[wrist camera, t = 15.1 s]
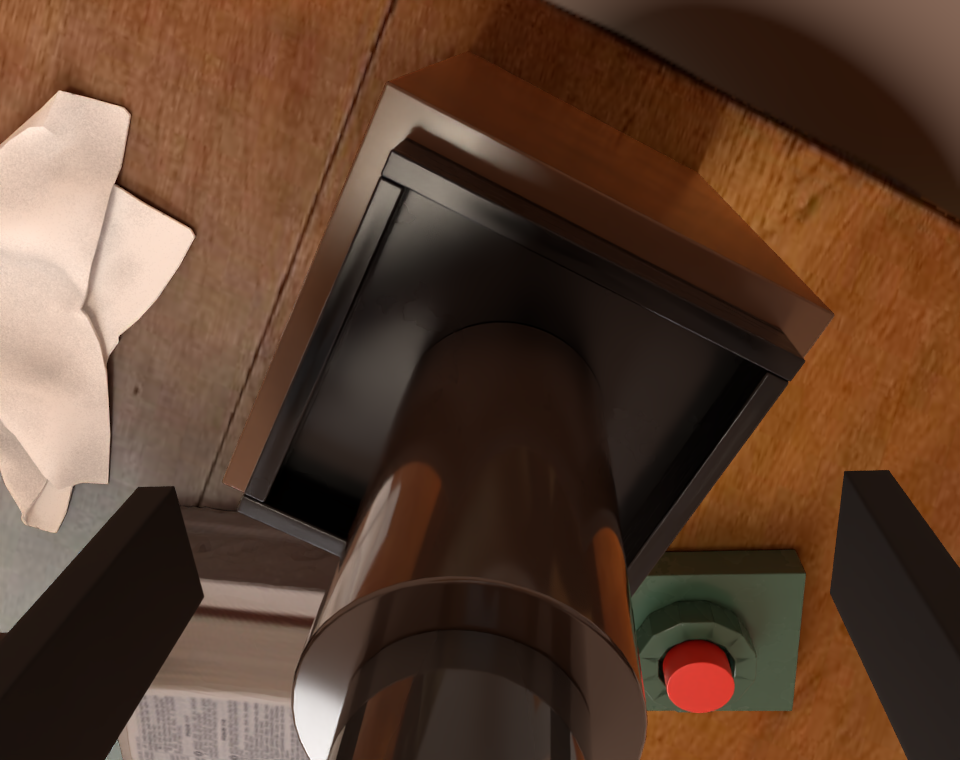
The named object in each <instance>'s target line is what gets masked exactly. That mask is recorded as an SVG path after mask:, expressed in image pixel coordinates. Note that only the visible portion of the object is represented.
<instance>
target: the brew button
mask: <svg viewBox="0 0 960 760" xmlns="http://www.w3.org/2000/svg"><path fill="white" fill-rule="evenodd" d="M663 673H664V678H665V684H666V690H667V694H668V696H669V698H670V700H671V701H672V702H673V703H674V704H675V705H676V706H678V707H679V708H681V709H683V710H686V711H690V712H695V713H704V712H710V711H714V710H716V709H719V708H721V707H722V706H724V705H725V704H726V703H727V702H728V701H729V700H730V699H731V697H732V695H733V693H734V689H735V683H734V679H733V675H732V672H731V668H730V665H729V661H728V658H727V656H726V654H725V652H724V651H723V650H722V649H721V648H720V647H718V646H717V645H715V644H713V643H711V642H708V641H703V640H690V641H685V642H682V643H679V644H677V645H676V646H674V647H673V648H672V649H670V650H669V651H668V653H667V654H666V656H665V658H664V660H663Z"/></svg>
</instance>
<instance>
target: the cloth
mask: <svg viewBox="0 0 960 760" xmlns="http://www.w3.org/2000/svg"><path fill="white" fill-rule="evenodd" d="M130 119H131V114H130V113H129V112H128V111H127V110H126V108H125V107H122V106H118V105H114V104H111V103H107V102H103V101H100V100H96V99H92V98H89V97H85V96H81V95H76V94H72V93H68V92H64V91H60V90H59V91H58V92H57V93H56V94H55V95H54V96H53V97H52V98H51V99H50V100H49V101H48V102H47V103H46V104H45V105H44V106H43V107H42V108H41V109H40V110H38V111H37V112H36V113H35V114H34V115H33V116H32V117H31V118H29V119H28V120H27V121H26V122H25V123H24V124H23V125H22V126H20V127H19V128H18V129H17V130H16V131H15V132H14V133H13V134H11V135H10V136H9V137H8V138H7V139H6V140H5V141H4V142H3V143H2V144H0V470H1V473H2V477H3V480H4V483H5V485H6V487H7V488H8V490H9V492H10V493H11V495H12V497H13V498H14V500H15V502H16V503H17V505H18V507H19V508H20V510H21V512H22V516H21V520H22V521H23V523H24V524H25V525H28V526H31V527H34V528H38V529H41V530H44V531H47V532H54V533H57V531H58V529H59V527H60V525H61V523H62V521H63V519H64V517H65V515H66V513H67V509H68V505H69V501H70V497H71V493H72V489H73V485H76V484H80V483H97V484H108V476H109V455H110V417H109V397H108V377H107V369H106V365H107V361H108V358H109V355H110V354H111V352H112V351H113V350H114V348H115V347H116V345H117V344H118V343H119V339H118V337H119V336H120V335H121V334H122V333H123V332H124V331H126V330H127V329H128V328H129V327H130V326H132V325H133V324H134V323H135V322H136V321H138V320H139V319H140V317H141V316H142V315H143V314H144V313H145V312H146V311H147V310H148V309H149V308H150V306H151V305H152V304H153V303H154V302H155V301H156V300H157V299H158V297H159V296H160V294H161V293H162V291H163V290H164V288H165V287H166V286H167V284H168V283H169V281H170V280H171V278H172V277H173V275H174V274H175V272H176V271H177V269H178V268H179V267H180V265H181V263H182V261H183V259H184V257H185V255H186V253H187V252H188V250H189V248H190V246H191V244H192V242H193V240H194V239H195V237H196V236H195V234H194V232H193V231H192V229H191V228H190V227H188V226H186V225H184V224H182V223H181V222H179V221H177V220H175V219H173V218H171V217H170V216H168V215H166V214H164V213H162V212H161V211H159V210H157V209H155V208H153V207H152V206H150V205H148V204H146V203H144V202H143V201H141V200H140V199H138V198H137V197H135V196H133V195H132V194H130V193H129V192H127V191H126V190H124V189H123V188H121V187H120V186H118V185H116V184H114V183H115V181H116V179H117V177H118V174H119V172H120V170H121V168H122V163H123V158H124V152H125V147H126V141H127V136H128V130H129V125H130Z"/></svg>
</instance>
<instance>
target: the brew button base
mask: <svg viewBox="0 0 960 760" xmlns="http://www.w3.org/2000/svg"><path fill="white" fill-rule="evenodd" d="M805 578H806V573H805V570H804V568H803V566H802V564H801V562H800V560H799V557H798V555H797V553H796V551H795V550H750V551H697V552H664V554H663V555H662V557H661V558H660V559H659V561H658V562H657V563H656V565H655V566H654V567H653V569H652V570H651V572H650V573H649V574H648V576H647V577H646V578H645V580H644V581H643V582H642V584H641V585H640V586H639V588H638V589H637V591H636V592H635V593H634V595H633V596H632V597H631V601H632V608H633V615H634V622H635V629H636V636H637V643H638V651H639V658H640V665H641V672H642V679H643V686H644V693H645V700H646V710H647V711H677V712H690V711H686V710H683V709H681V708H679V707H678V706H676V705H675V704H674V703H673V702H672V701H671V700H670V698H669V696H668V694H667V690H666V684H665V678H664V673H663V660H664V658H665V656H666V654H667V653H668V651H669V650H670V649H672V648H673V647H674V646H676V645H677V644H679V643H682V642H685V641H690V640H703V641H708V642H711V643H713V644H715V645H717V646H718V647H720V648H721V649H722V650H723V651H724V652H725V654H726V656H727V658H728V661H729V665H730V668H731V672H732V675H733V679H734V683H735V689H734V693H733V695H732V697H731V699H730V700H729V701H728V702H727V703H726V704H725V705H724V706H722V707H721V708H719V709H716V710H714V711H792V708H793V698H794V688H795V678H796V668H797V658H798V648H799V638H800V628H801V618H802V608H803V598H804V588H805ZM710 712H712V711H710Z"/></svg>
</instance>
